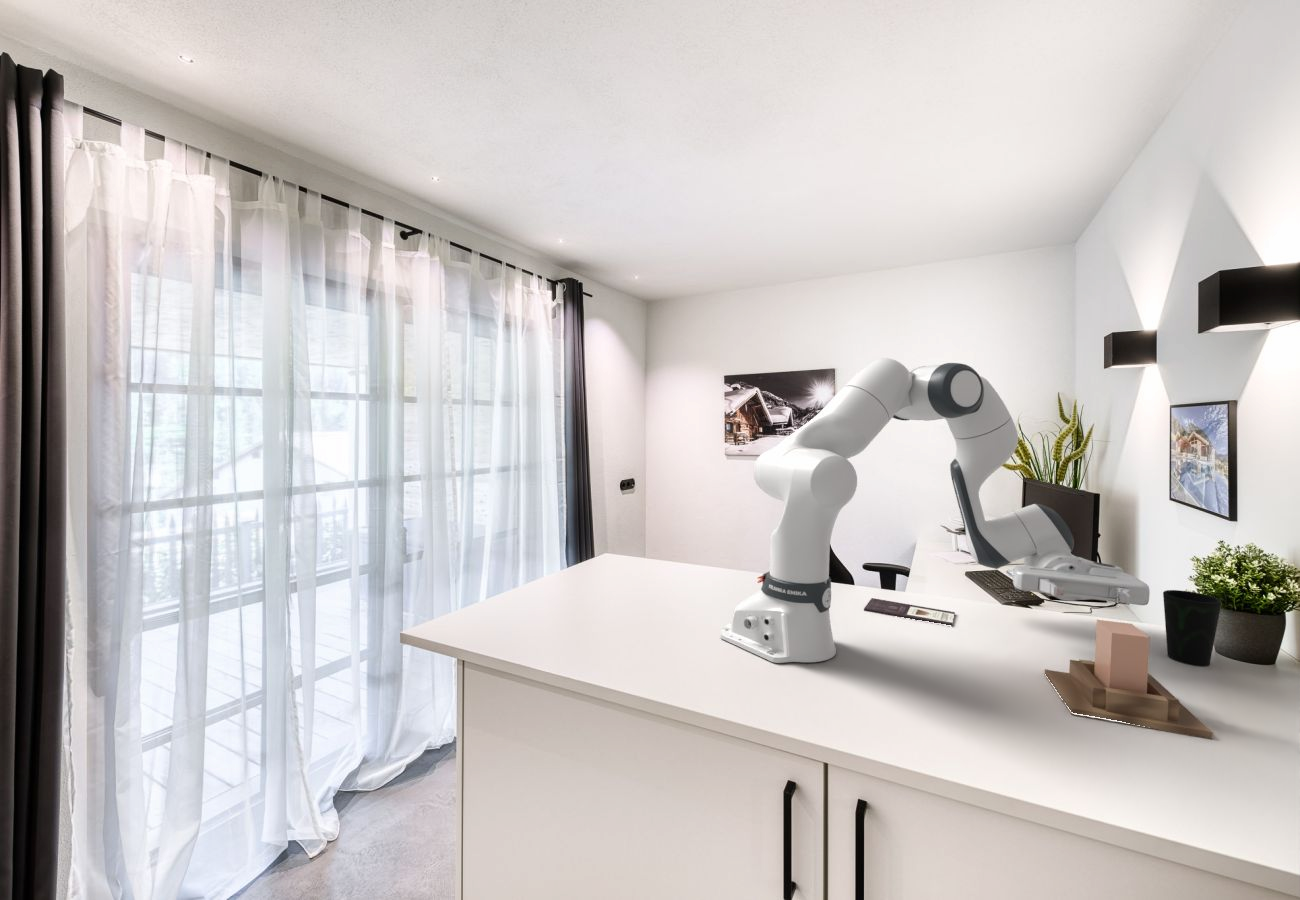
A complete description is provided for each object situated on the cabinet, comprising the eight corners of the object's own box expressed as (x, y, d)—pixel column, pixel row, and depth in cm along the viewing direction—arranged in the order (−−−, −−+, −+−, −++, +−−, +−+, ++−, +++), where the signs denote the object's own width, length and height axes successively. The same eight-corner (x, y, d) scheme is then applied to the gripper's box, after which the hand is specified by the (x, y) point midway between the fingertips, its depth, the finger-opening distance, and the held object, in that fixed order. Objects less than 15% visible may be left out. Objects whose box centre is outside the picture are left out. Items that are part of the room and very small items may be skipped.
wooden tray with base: (1071, 714, 81) (1073, 689, 81) (1044, 675, 94) (1045, 652, 94) (1212, 739, 75) (1213, 711, 75) (1162, 692, 88) (1163, 668, 88)
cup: (1201, 654, 103) (1204, 592, 102) (1228, 671, 96) (1232, 605, 95) (1151, 648, 106) (1154, 588, 105) (1174, 665, 98) (1177, 600, 98)
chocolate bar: (871, 598, 134) (954, 612, 124) (871, 601, 134) (954, 616, 124) (864, 608, 126) (951, 624, 117) (863, 612, 126) (951, 628, 117)
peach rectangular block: (1108, 703, 83) (1111, 632, 82) (1093, 685, 88) (1096, 619, 88) (1145, 709, 81) (1149, 637, 80) (1128, 691, 87) (1131, 623, 86)
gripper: (1005, 554, 112) (1022, 570, 99) (1130, 567, 104) (1166, 586, 91) (1003, 584, 112) (1020, 604, 99) (1127, 599, 104) (1163, 623, 91)
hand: (1091, 595), depth 95 cm, fingers open, 8 cm apart
